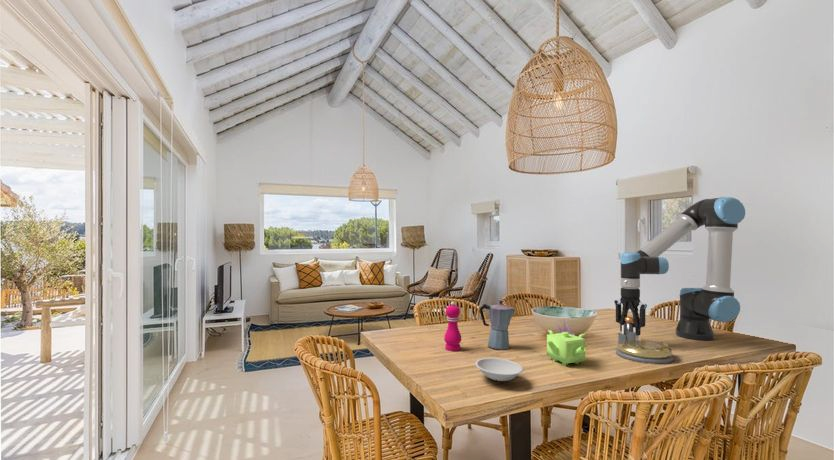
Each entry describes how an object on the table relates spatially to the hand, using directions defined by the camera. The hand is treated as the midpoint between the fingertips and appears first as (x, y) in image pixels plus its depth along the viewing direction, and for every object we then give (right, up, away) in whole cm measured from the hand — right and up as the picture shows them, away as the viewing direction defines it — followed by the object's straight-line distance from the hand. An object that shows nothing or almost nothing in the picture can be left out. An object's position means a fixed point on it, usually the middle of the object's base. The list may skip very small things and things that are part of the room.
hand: (630, 340), depth 180 cm
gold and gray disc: (-3, 0, -16) cm, 16 cm away
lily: (-29, -2, -2) cm, 29 cm away
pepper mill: (-78, -2, -7) cm, 79 cm away
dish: (-66, -2, -43) cm, 79 cm away
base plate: (-3, -2, -16) cm, 16 cm away
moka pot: (-59, -2, -4) cm, 59 cm away
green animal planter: (-36, -2, -23) cm, 43 cm away
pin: (0, -2, 0) cm, 2 cm away
